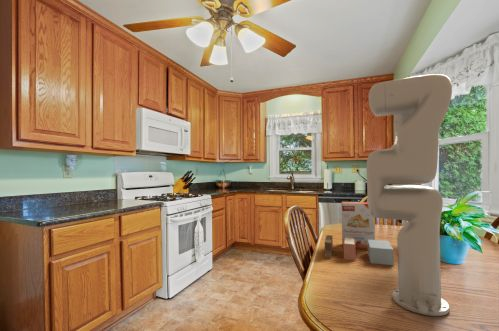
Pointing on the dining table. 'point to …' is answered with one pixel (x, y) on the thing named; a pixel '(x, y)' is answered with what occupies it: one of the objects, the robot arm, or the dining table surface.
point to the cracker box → (357, 223)
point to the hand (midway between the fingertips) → (407, 222)
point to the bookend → (328, 246)
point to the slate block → (380, 252)
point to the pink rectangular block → (349, 249)
